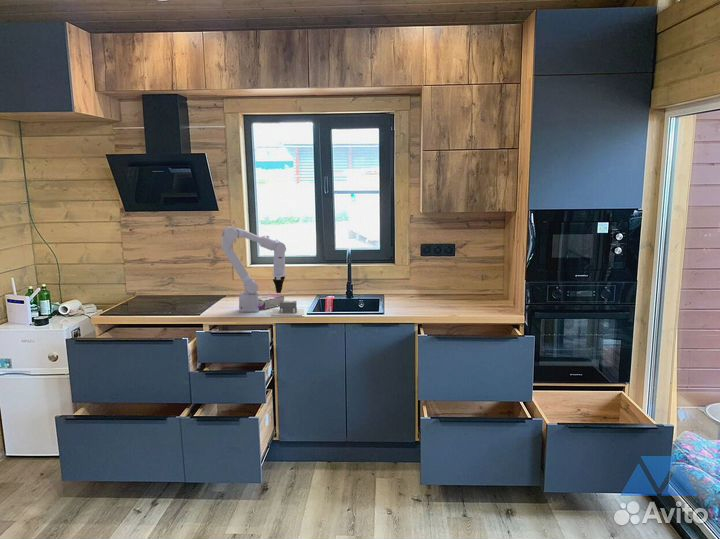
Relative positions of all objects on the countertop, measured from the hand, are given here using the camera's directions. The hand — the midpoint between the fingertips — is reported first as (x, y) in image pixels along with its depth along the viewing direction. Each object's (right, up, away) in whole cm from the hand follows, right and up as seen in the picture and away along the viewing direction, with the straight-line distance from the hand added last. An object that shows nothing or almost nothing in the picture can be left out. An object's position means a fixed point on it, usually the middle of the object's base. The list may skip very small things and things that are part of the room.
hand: (279, 291), depth 279 cm
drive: (+6, -10, -7) cm, 13 cm away
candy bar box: (-4, -5, +16) cm, 17 cm away
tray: (+6, -11, -7) cm, 14 cm away
